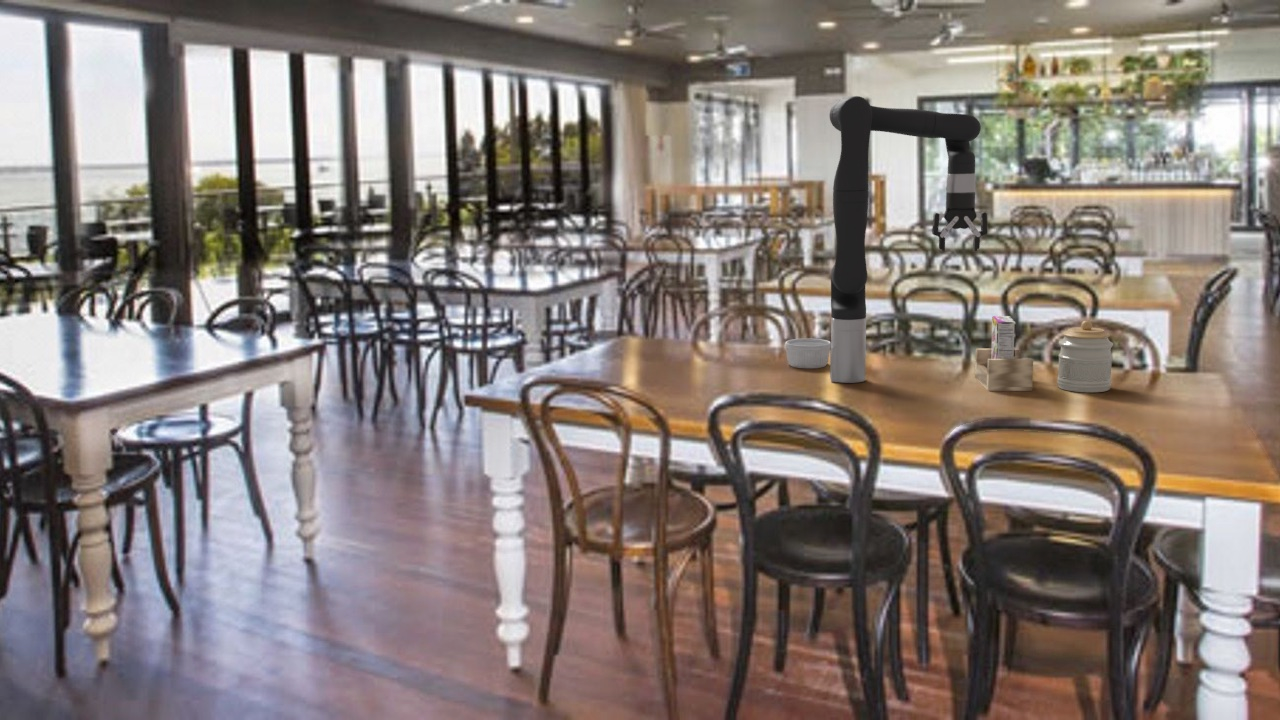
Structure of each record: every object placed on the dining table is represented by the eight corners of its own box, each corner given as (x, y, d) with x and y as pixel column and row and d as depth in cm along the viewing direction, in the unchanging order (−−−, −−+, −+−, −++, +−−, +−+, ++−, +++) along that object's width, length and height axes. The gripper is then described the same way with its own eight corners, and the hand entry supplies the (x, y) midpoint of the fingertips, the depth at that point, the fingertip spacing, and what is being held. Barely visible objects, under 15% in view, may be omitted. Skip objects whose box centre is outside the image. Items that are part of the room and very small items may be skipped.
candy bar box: (989, 376, 308) (991, 315, 305) (1008, 376, 307) (1011, 315, 304) (994, 384, 297) (996, 321, 294) (1014, 384, 296) (1017, 321, 293)
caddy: (988, 390, 294) (989, 360, 293) (974, 377, 312) (975, 348, 310) (1032, 390, 293) (1033, 360, 292) (1016, 377, 311) (1017, 348, 309)
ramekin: (833, 369, 329) (834, 345, 327) (787, 369, 329) (787, 346, 328) (827, 361, 342) (827, 338, 340) (782, 361, 342) (782, 338, 341)
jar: (1070, 381, 304) (1073, 315, 301) (1119, 387, 295) (1123, 319, 292) (1048, 389, 295) (1050, 321, 292) (1097, 395, 286) (1101, 325, 283)
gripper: (935, 191, 304) (934, 252, 307) (990, 190, 303) (988, 252, 306) (931, 190, 312) (930, 250, 315) (985, 190, 310) (983, 249, 313)
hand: (959, 251), depth 310 cm, fingers open, 8 cm apart
